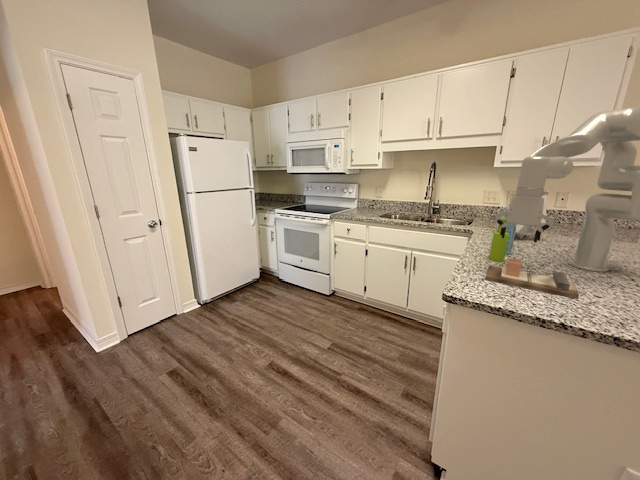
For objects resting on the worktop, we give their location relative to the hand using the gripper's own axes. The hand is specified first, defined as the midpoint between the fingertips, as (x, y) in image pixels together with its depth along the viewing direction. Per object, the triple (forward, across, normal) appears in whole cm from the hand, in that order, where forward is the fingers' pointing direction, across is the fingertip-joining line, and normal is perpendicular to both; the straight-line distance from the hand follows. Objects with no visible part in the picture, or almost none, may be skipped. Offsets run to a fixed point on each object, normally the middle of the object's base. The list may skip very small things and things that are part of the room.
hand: (518, 239), depth 97 cm
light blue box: (+16, +3, -44) cm, 47 cm away
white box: (+15, -1, -80) cm, 82 cm away
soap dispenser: (+16, +6, -24) cm, 29 cm away
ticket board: (+16, -5, 0) cm, 17 cm away
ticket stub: (+14, -1, 0) cm, 14 cm away
